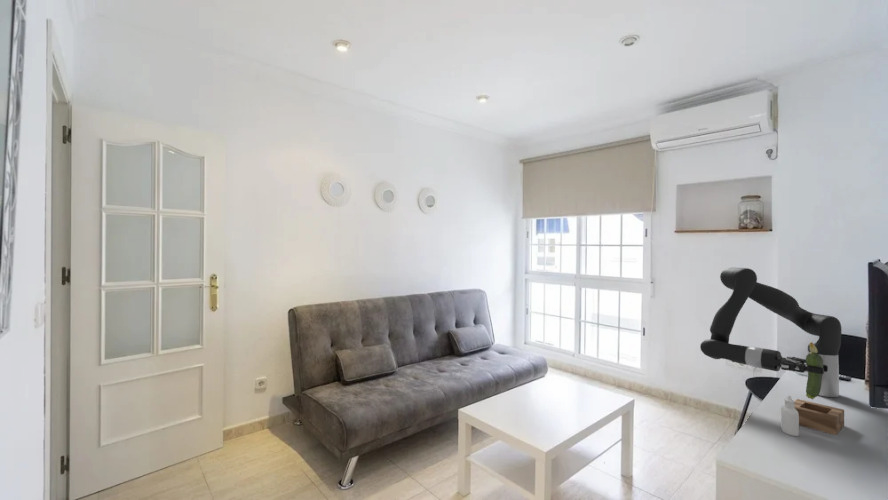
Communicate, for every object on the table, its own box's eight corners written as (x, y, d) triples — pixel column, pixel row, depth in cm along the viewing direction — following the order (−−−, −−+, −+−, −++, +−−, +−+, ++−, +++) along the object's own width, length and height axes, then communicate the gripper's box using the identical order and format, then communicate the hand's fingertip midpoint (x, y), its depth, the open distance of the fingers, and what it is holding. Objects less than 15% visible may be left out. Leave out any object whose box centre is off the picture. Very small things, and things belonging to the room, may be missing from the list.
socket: (797, 413, 141) (797, 398, 141) (844, 425, 131) (844, 409, 131) (787, 421, 134) (787, 406, 134) (835, 435, 124) (835, 418, 124)
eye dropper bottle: (799, 431, 127) (798, 395, 127) (799, 437, 123) (798, 400, 123) (781, 427, 130) (780, 392, 130) (780, 433, 126) (780, 396, 126)
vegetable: (815, 397, 135) (816, 340, 135) (826, 402, 131) (827, 343, 131) (802, 397, 135) (802, 340, 135) (812, 401, 131) (812, 343, 131)
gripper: (756, 351, 141) (820, 362, 127) (769, 346, 149) (830, 355, 135) (756, 371, 141) (820, 384, 127) (769, 365, 149) (831, 377, 135)
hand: (825, 369), depth 131 cm, fingers closed on vegetable, 4 cm apart
